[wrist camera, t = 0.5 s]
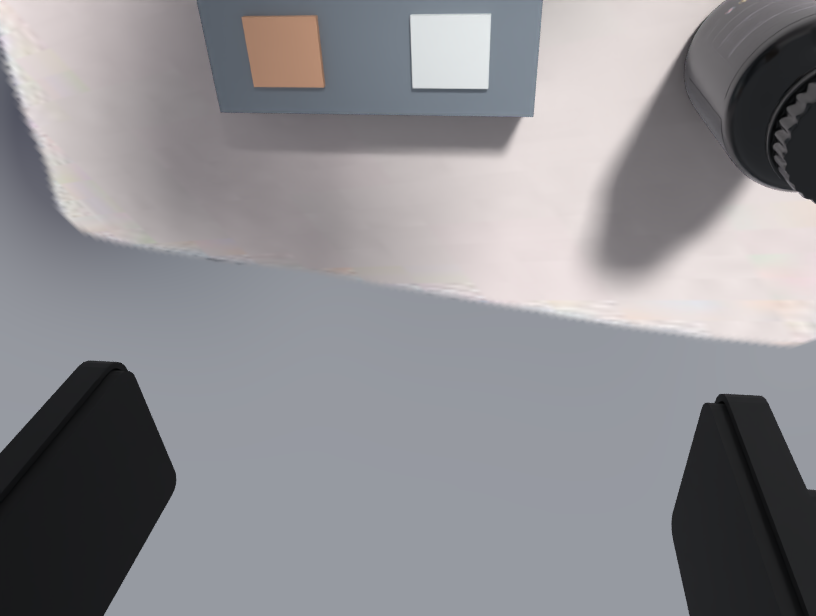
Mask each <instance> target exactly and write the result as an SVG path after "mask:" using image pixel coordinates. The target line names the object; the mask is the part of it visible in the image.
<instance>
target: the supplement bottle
mask: <svg viewBox="0 0 816 616" xmlns="http://www.w3.org/2000/svg"><path fill="white" fill-rule="evenodd" d="M684 78H685V85H686V90H687V93H688V96H689V98H690V100H691V102H692V104H693V106H694V107H695V109H696V110H697V112H698V114H699V115H700V116H701V118H702V119H703V121H704V122H705V123H706V125H707V126H708V128H709V129H710V131H711V132H712V133H713V135H714V136H715V138H716V139H717V140H718V142H719V143H720V145H721V146H722V147H723V149H724V150H725V152H726V153H727V154H728V156H729V157H730V159H731V160H732V161H733V163H734V164H735V165H736V166H737V167H738V168H739V169H740V170H741V171H742V172H743V173H744V174H745V175H746V176H747V177H749V178H750V179H751V180H753V181H755V182H757V183H758V184H761V185H763V186H765V187H768V188H771V189H774V190H779V191H785V192H798V193H799V194H800V195H801V196H802V197H803V198H806V199H810V200H811V201H812V202H814V203H815V204H816V0H726V1H724V2H723V3H722V4H720V5H719V6H718V7H717V8H716V9H715V10H714V11H713V12H712V13H711V14H710V15H709V16H708V17H707V18H706V19H705V21H704V22H703V23H702V25H701V26H700V27H699V29H698V31H697V32H696V34H695V36H694V38H693V40H692V42H691V44H690V47H689V50H688V53H687V56H686V61H685V69H684Z"/></svg>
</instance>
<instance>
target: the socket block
mask: <svg viewBox="0 0 816 616" xmlns="http://www.w3.org/2000/svg"><path fill="white" fill-rule="evenodd" d="M542 3H543V0H197V4H198V9H199V14H200V18H201V23H202V27H203V32H204V37H205V41H206V46H207V51H208V55H209V60H210V65H211V69H212V74H213V79H214V83H215V88H216V92H217V97H218V102H219V106H220V111H221V112H228V113H297V114H366V115H434V116H503V117H533V114H534V102H535V90H536V77H537V65H538V52H539V40H540V28H541V15H542Z"/></svg>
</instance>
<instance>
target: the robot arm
mask: <svg viewBox="0 0 816 616" xmlns="http://www.w3.org/2000/svg"><path fill="white" fill-rule="evenodd" d="M175 485H176V473H175V470H174V468H173V465H172V463H171V461H170V458H169V456H168V454H167V451H166V449H165V447H164V444H163V442H162V439H161V437H160V435H159V432H158V430H157V427H156V425H155V423H154V420H153V418H152V416H151V413H150V411H149V409H148V406H147V404H146V402H145V399H144V397H143V394H142V392H141V390H140V387H139V385H138V383H137V380H136V378H135V376H134V374H133V373H132V372H130V371H128V370H127V369H126V367H125V366H124V365H123V364H122V363H119V362H106V361H86V362H83V363H82V364H81V365H80V366H79V367H78V368H77V369H76V370H75V371H74V372H73V373H72V374H71V375H70V376H69V378H68V379H67V380H66V381H65V382H64V383H63V384H62V385H61V386H60V388H59V389H58V390H57V391H56V392H55V393H54V394H53V395H52V396H51V398H50V399H49V400H48V401H47V402H46V403H45V404H44V405H43V407H41V409H40V410H39V411H38V412H37V413H36V414H35V415H34V416H33V418H32V419H31V420H30V421H29V422H28V423H27V424H26V425H25V426H24V428H23V429H22V430H21V431H20V432H19V433H18V434H17V435H16V436H15V437H14V439H13V440H12V441H11V442H10V443H9V444H8V445H7V446H6V448H5V449H4V450H3V451H2V452H1V453H0V616H104V614H105V612H106V610H107V609H108V607H109V605H110V603H111V601H112V600H113V598H114V596H115V594H116V593H117V591H118V589H119V587H120V586H121V584H122V582H123V580H124V579H125V577H126V575H127V573H128V571H129V570H130V568H131V566H132V564H133V563H134V561H135V559H136V557H137V556H138V554H139V552H140V550H141V549H142V547H143V545H144V543H145V542H146V540H147V538H148V536H149V534H150V533H151V531H152V529H153V527H154V526H155V524H156V522H157V520H158V519H159V517H160V515H161V513H162V511H163V510H164V508H165V506H166V505H167V503H168V501H169V499H170V497H171V496H172V494H173V491H174V489H175ZM672 535H673V541H674V546H675V550H676V555H677V560H678V564H679V569H680V574H681V578H682V583H683V587H684V592H685V596H686V601H687V606H688V610H689V615H690V616H816V490H808V489H807V488H806V486H805V484H804V482H803V479H802V477H801V475H800V473H799V471H798V468H797V466H796V464H795V462H794V460H793V457H792V455H791V453H790V451H789V448H788V446H787V444H786V442H785V440H784V437H783V435H782V433H781V431H780V428H779V426H778V424H777V422H776V420H775V417H774V415H773V413H772V411H771V409H770V406H769V404H768V402H767V401H766V399H765V398H764V397H762V396H753V395H735V394H719V396H718V397H717V398H716V401H715V403H705V404H704V405H703V407H702V410H701V413H700V417H699V420H698V424H697V428H696V431H695V435H694V438H693V442H692V446H691V449H690V453H689V456H688V460H687V464H686V467H685V471H684V474H683V478H682V482H681V485H680V489H679V492H678V496H677V500H676V503H675V507H674V511H673V515H672Z"/></svg>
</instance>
